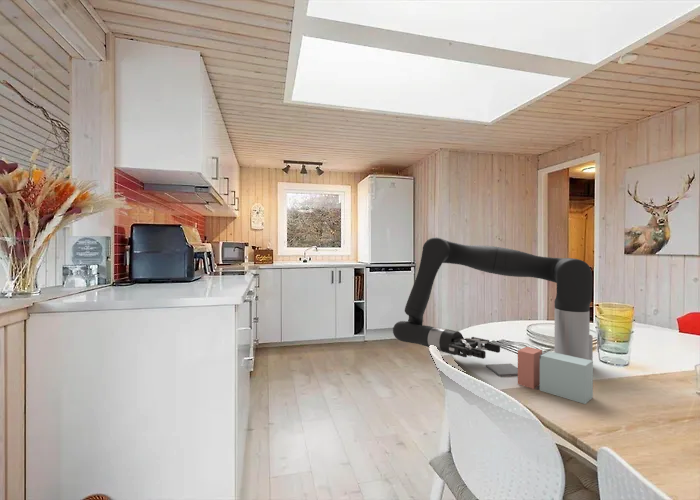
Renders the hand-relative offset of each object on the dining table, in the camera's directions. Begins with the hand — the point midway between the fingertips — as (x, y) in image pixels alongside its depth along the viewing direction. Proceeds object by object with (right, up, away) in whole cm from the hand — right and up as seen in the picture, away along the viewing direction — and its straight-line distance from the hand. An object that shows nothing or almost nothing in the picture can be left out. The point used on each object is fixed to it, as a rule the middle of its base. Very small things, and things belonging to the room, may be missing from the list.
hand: (492, 352), depth 99 cm
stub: (+7, -6, -8) cm, 12 cm away
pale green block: (+12, -6, -15) cm, 20 cm away
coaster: (+4, -6, +1) cm, 8 cm away
